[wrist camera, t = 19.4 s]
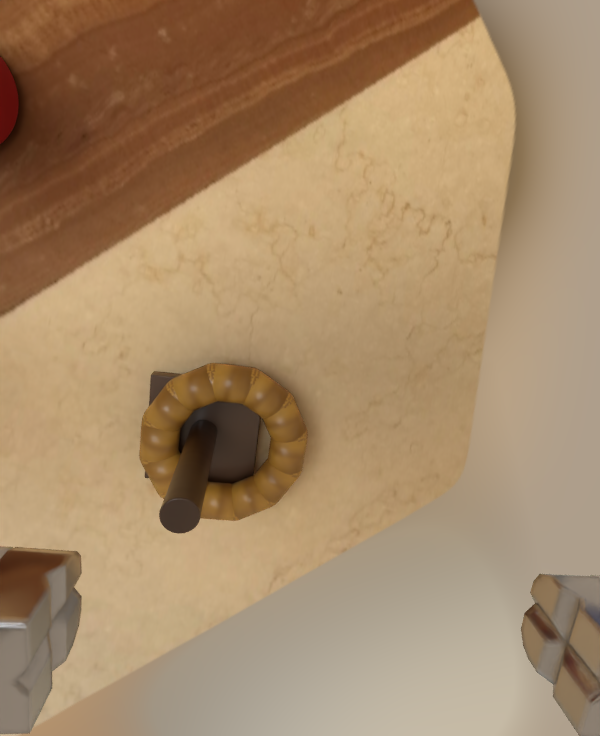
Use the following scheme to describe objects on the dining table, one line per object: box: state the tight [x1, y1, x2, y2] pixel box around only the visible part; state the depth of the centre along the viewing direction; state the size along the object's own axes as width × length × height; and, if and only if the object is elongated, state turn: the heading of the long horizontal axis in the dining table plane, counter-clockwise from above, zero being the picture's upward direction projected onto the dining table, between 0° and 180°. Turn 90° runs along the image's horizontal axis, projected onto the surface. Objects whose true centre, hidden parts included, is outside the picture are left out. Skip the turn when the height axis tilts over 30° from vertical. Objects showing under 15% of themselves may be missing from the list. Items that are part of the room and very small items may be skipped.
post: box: [145, 372, 260, 533], centre depth 28 cm, size 8×8×12 cm
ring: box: [139, 363, 308, 521], centre depth 32 cm, size 12×12×3 cm
